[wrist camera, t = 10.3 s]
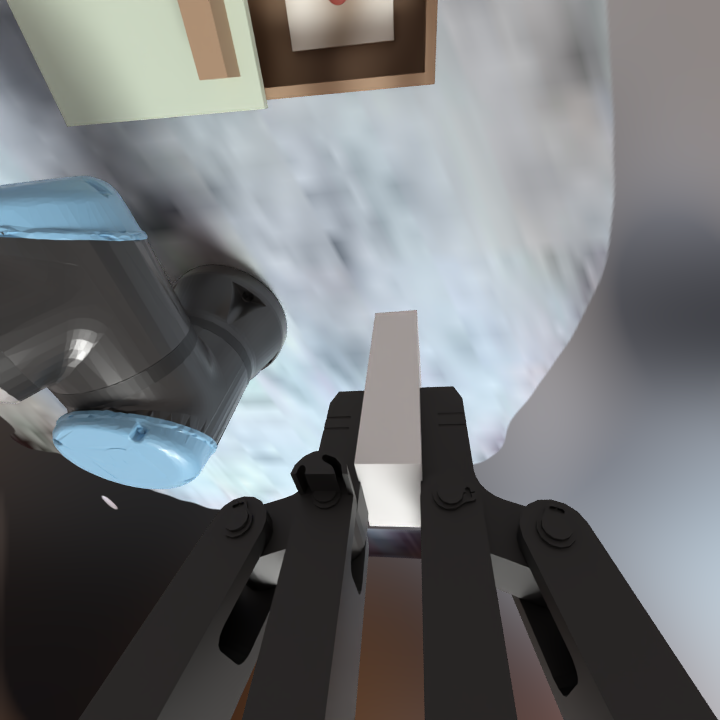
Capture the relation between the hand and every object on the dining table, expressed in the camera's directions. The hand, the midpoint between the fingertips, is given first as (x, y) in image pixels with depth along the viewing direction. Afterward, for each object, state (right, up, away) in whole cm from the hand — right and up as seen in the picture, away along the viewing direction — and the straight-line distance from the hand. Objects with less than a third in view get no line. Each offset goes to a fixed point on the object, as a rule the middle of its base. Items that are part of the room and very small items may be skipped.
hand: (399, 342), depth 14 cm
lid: (-17, +24, +11) cm, 31 cm away
